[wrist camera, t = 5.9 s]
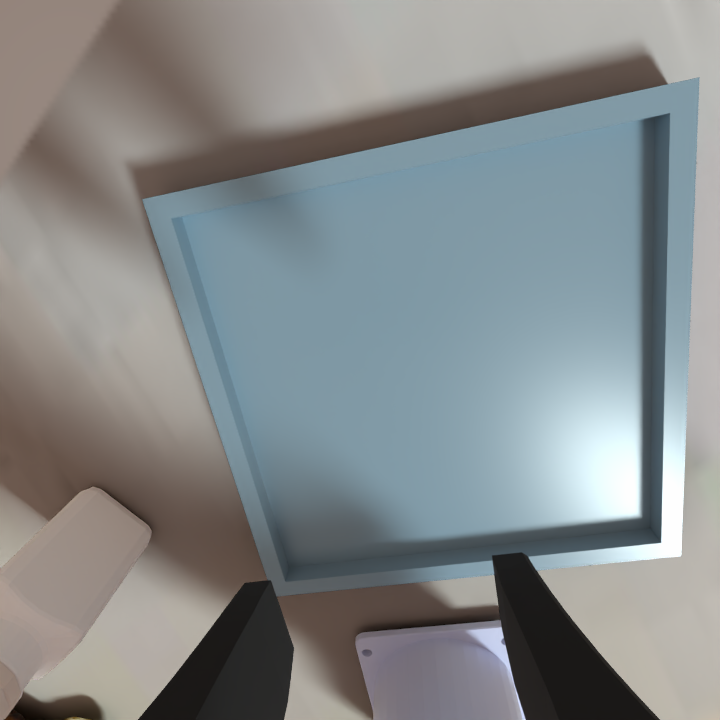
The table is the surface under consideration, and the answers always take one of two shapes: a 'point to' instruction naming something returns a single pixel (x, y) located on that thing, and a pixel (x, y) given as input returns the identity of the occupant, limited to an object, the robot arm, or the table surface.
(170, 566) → the table surface
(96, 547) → the pepper shaker
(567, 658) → the robot arm
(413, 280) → the tray
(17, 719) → the chicken drumstick
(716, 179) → the table surface
